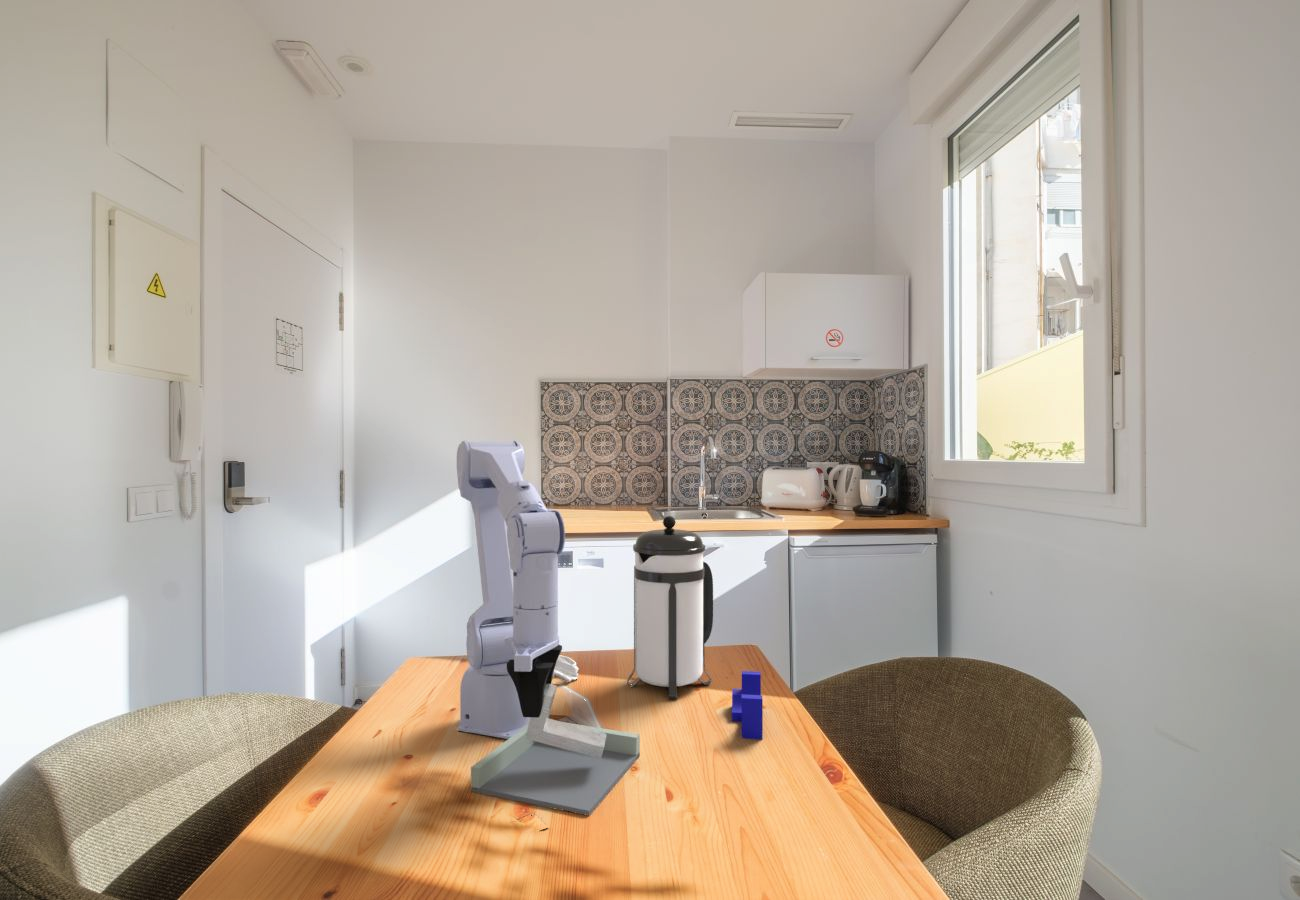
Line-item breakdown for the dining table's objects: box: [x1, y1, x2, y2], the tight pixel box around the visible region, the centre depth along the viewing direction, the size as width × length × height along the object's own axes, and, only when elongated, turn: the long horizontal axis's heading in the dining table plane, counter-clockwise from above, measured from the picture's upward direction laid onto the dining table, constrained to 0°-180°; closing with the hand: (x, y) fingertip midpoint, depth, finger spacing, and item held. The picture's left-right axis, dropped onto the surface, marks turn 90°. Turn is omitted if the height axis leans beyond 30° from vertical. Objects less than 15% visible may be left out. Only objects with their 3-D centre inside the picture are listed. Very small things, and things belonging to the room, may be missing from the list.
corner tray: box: [470, 721, 641, 816], centre depth 88 cm, size 16×16×3 cm
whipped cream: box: [552, 654, 579, 683], centre depth 124 cm, size 8×7×5 cm
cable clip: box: [731, 670, 764, 740], centre depth 104 cm, size 12×4×6 cm, turn 172°
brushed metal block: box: [525, 683, 607, 759], centre depth 88 cm, size 10×4×6 cm, turn 89°
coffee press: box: [626, 515, 714, 700], centre depth 121 cm, size 17×16×30 cm
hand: (535, 709), depth 88 cm, fingers closed on brushed metal block, 4 cm apart
